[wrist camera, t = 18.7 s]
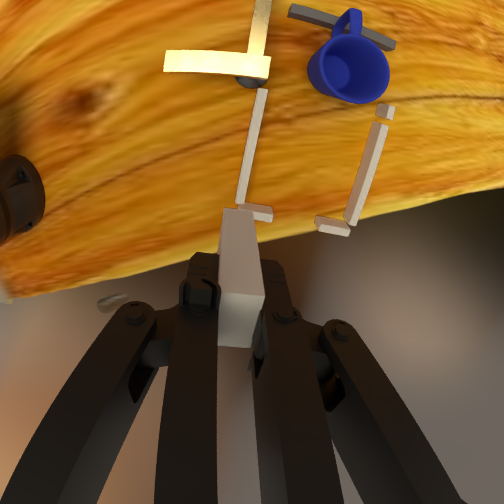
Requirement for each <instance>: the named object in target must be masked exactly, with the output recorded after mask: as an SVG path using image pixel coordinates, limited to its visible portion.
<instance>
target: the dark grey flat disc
mask: <svg viewBox="0 0 504 504" xmlns="http://www.w3.org/2000/svg"><path fill="white" fill-rule="evenodd" d="M268 76H269V73H268ZM235 78H236V80H237V82H238V83H239V84H240V85H242V86H243V87H246V88H257V87H260V86H261V85H263V84H264V83H265V82H266V81H267V79H268V78H267V79H266V80H262V79H253V80H250V79H248V78H246V77H237V76H235Z"/></svg>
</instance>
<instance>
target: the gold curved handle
mask: <svg viewBox="0 0 504 504" xmlns="http://www.w3.org/2000/svg"><path fill="white" fill-rule="evenodd" d="M271 5H272V0H256V3H255V9H254V14H253V20H252V26H251V32H250V38H249V45H248V51H247V54H245V53H236V52H223V51H205V50H166V55H165V63H164V71H163V72H167V73H188V74H212V75H226V76H237V77H246V78H248V79H250V80H253V79H262V80H266V79H267V78H268V73H269V66H270V60H271V57H269V56H263V54H264V48H265V42H266V35H267V29H268V23H269V17H270V11H271Z"/></svg>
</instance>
